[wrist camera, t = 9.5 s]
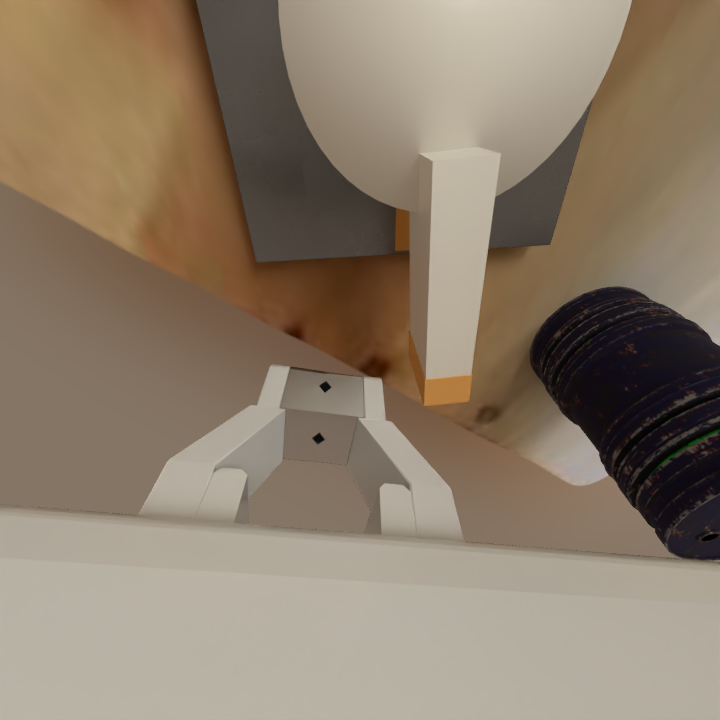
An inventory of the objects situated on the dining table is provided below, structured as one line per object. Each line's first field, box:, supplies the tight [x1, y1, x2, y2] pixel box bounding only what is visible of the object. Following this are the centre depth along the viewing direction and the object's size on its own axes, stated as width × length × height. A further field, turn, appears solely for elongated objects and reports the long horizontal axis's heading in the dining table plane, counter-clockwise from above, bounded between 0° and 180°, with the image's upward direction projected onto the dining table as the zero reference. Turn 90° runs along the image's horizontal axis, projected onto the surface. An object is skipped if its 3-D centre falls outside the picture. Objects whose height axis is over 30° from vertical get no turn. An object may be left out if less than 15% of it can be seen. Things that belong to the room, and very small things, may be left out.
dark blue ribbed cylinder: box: [530, 287, 720, 561], centre depth 22 cm, size 10×10×15 cm
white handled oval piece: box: [278, 0, 632, 406], centre depth 13 cm, size 18×10×5 cm, turn 6°
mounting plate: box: [196, 0, 593, 263], centre depth 15 cm, size 18×18×6 cm
